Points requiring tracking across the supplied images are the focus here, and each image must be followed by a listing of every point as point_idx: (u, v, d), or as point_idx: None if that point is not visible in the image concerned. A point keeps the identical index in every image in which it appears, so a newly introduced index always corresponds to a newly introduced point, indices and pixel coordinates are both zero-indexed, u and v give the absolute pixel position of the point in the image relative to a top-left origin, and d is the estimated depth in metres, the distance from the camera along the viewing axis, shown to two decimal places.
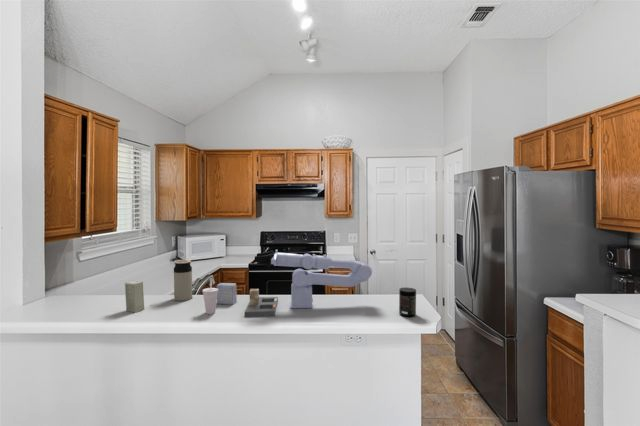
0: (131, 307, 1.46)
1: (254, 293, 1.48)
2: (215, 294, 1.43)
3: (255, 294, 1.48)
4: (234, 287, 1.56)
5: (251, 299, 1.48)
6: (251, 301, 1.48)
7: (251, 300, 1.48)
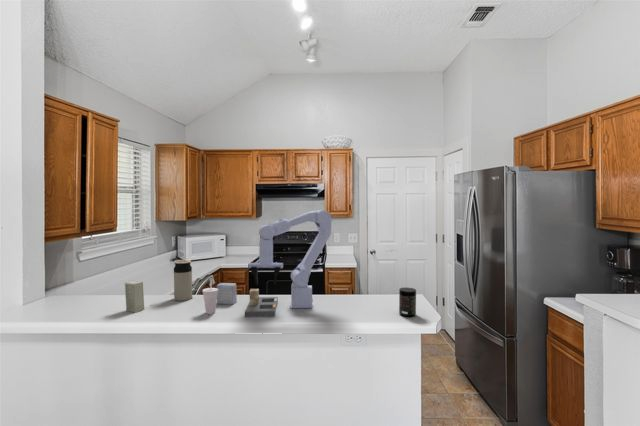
0: (131, 307, 1.46)
1: (254, 293, 1.48)
2: (215, 294, 1.43)
3: (255, 294, 1.48)
4: (234, 287, 1.56)
5: (251, 299, 1.48)
6: (251, 301, 1.48)
7: (251, 300, 1.48)
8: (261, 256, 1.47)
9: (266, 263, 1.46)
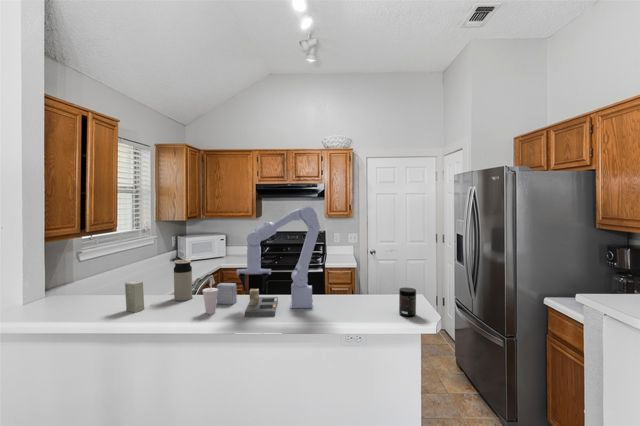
0: (131, 307, 1.46)
1: (254, 293, 1.48)
2: (215, 294, 1.43)
3: (255, 294, 1.48)
4: (234, 287, 1.56)
5: (251, 299, 1.48)
6: (251, 301, 1.48)
7: (251, 300, 1.48)
8: (249, 263, 1.47)
9: (254, 269, 1.47)
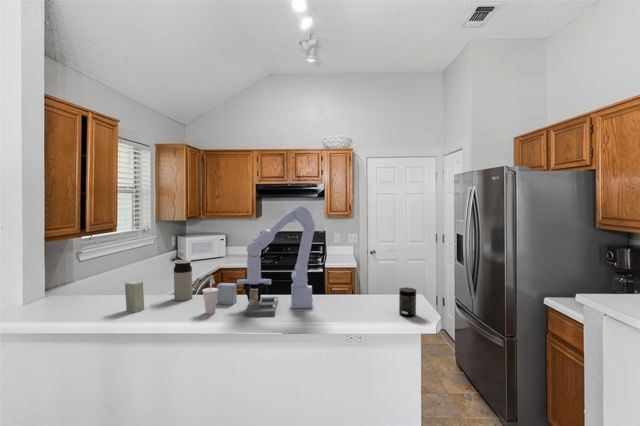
0: (131, 307, 1.46)
1: (254, 293, 1.48)
2: (215, 294, 1.43)
3: (255, 294, 1.48)
4: (234, 287, 1.56)
5: (251, 299, 1.48)
6: (251, 301, 1.48)
7: (251, 300, 1.48)
8: (249, 273, 1.47)
9: (254, 280, 1.47)
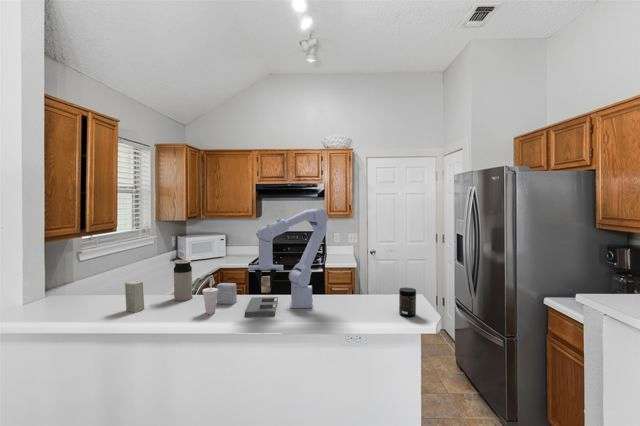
0: (131, 307, 1.46)
1: (266, 280, 1.44)
2: (215, 294, 1.43)
3: (267, 281, 1.44)
4: (234, 287, 1.56)
5: (263, 286, 1.44)
6: (263, 288, 1.44)
7: (263, 287, 1.44)
8: (260, 258, 1.43)
9: (266, 265, 1.42)
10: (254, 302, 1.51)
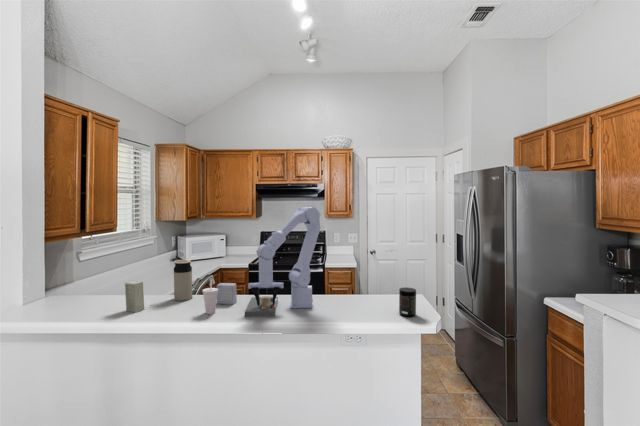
0: (131, 307, 1.46)
1: (266, 301, 1.44)
2: (215, 294, 1.43)
3: (267, 302, 1.44)
4: (234, 287, 1.56)
5: (263, 307, 1.44)
6: None
7: (263, 308, 1.44)
8: (261, 276, 1.43)
9: (266, 283, 1.43)
10: (254, 302, 1.51)
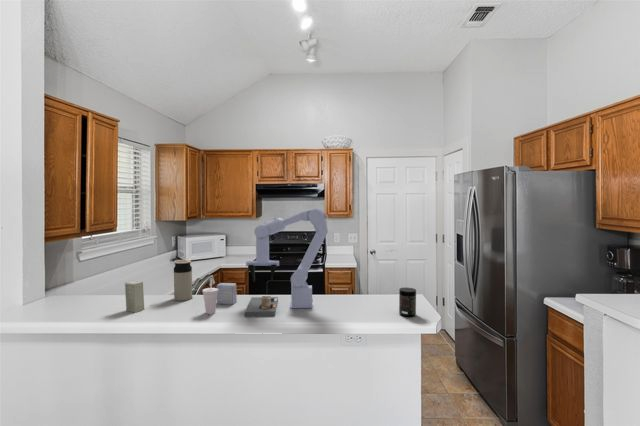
0: (131, 307, 1.46)
1: (266, 301, 1.44)
2: (215, 294, 1.43)
3: (267, 302, 1.44)
4: (234, 287, 1.56)
5: (263, 307, 1.44)
6: None
7: (263, 308, 1.44)
8: (258, 254, 1.52)
9: (263, 261, 1.52)
10: (254, 302, 1.51)
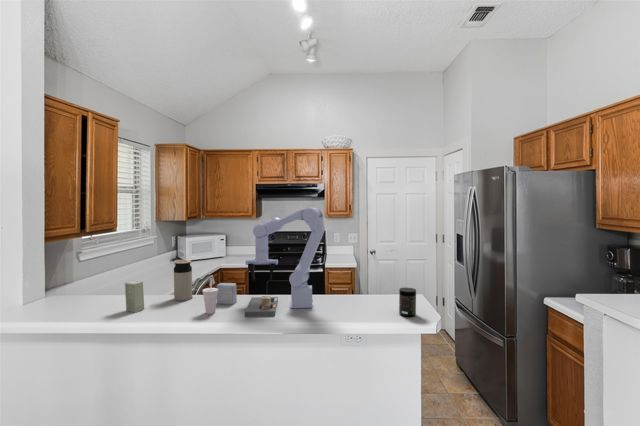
0: (131, 307, 1.46)
1: (266, 301, 1.44)
2: (215, 294, 1.43)
3: (267, 302, 1.44)
4: (234, 287, 1.56)
5: (263, 307, 1.44)
6: None
7: (263, 308, 1.44)
8: (257, 253, 1.55)
9: (262, 260, 1.55)
10: (254, 302, 1.51)
